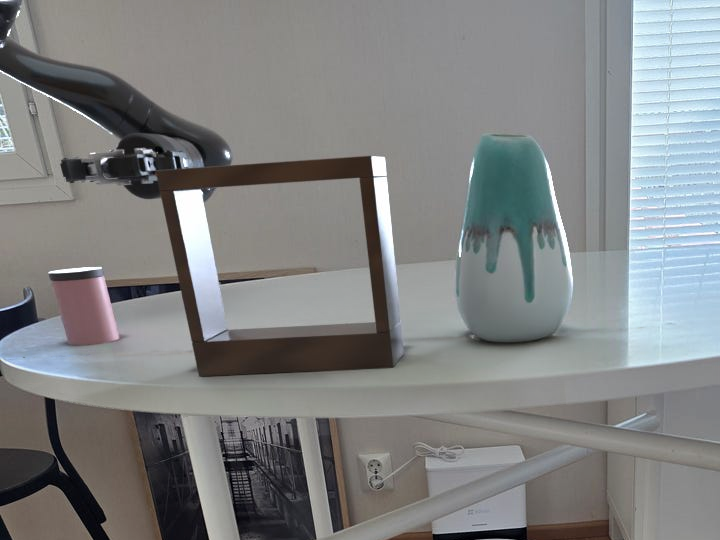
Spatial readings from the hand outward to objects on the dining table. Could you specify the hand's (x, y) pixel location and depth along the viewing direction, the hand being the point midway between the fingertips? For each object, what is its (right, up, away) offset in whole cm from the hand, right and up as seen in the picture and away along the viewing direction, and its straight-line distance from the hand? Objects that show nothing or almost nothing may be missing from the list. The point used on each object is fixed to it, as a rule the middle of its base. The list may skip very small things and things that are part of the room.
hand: (100, 167), depth 100 cm
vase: (+48, -25, -13) cm, 56 cm away
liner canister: (0, -21, -2) cm, 22 cm away
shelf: (+28, -30, -20) cm, 45 cm away
